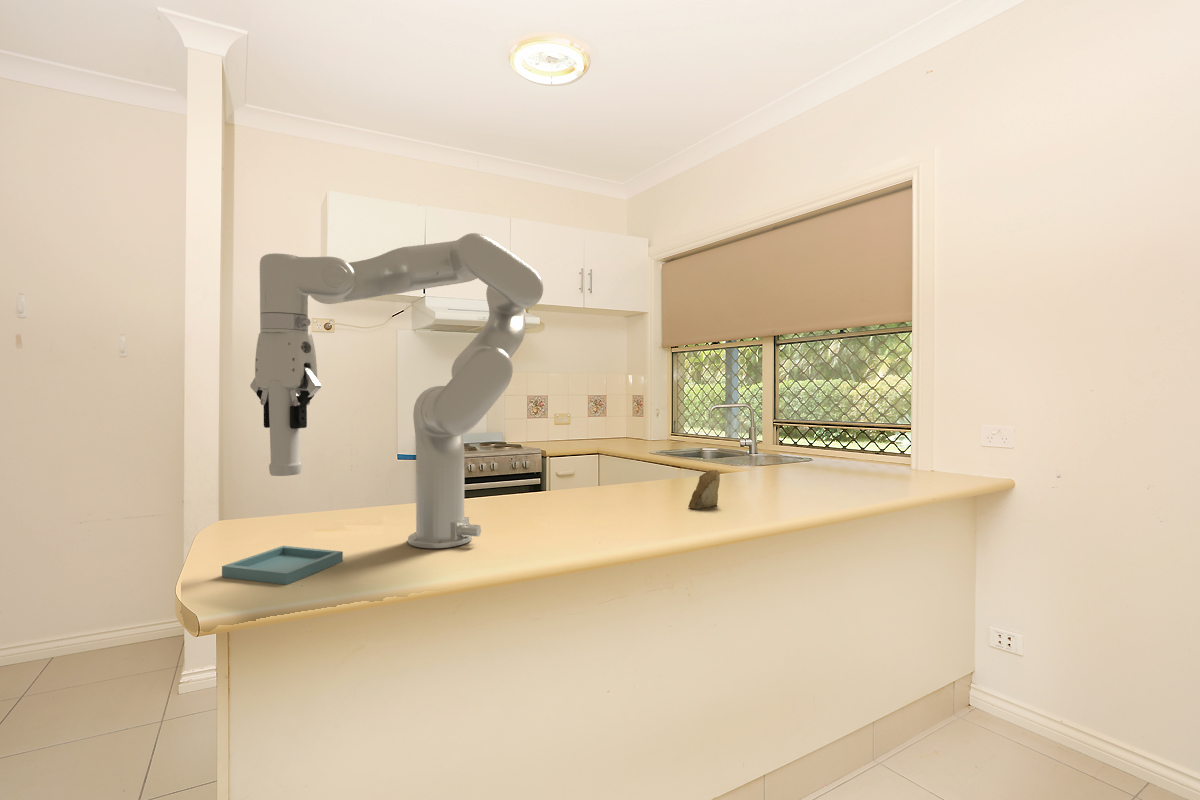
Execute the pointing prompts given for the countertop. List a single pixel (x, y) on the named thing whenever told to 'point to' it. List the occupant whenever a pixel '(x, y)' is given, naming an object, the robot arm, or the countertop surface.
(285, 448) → the bottle
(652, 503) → the countertop surface
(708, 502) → the rock
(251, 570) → the tray
